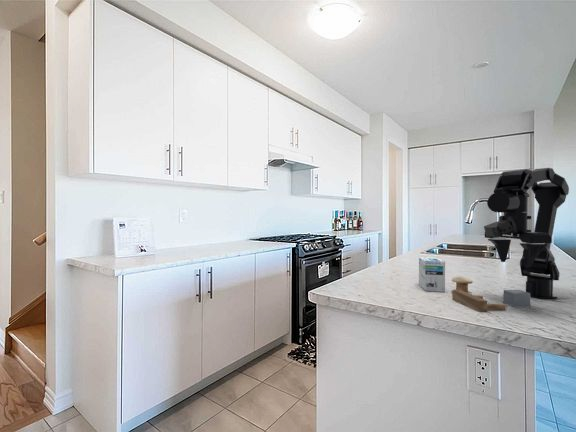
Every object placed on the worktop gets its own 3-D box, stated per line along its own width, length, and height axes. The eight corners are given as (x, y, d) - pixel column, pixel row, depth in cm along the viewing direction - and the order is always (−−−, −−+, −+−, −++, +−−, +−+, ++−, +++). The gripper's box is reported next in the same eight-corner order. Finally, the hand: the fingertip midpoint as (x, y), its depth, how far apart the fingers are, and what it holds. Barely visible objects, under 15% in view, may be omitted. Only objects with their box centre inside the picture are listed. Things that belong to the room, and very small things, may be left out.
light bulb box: (445, 292, 104) (445, 261, 104) (424, 291, 106) (424, 260, 106) (436, 285, 115) (437, 256, 115) (417, 284, 116) (418, 256, 116)
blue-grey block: (518, 302, 93) (519, 289, 93) (530, 306, 89) (530, 293, 89) (503, 303, 93) (503, 289, 93) (514, 307, 89) (514, 293, 89)
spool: (464, 291, 106) (464, 277, 105) (476, 296, 100) (476, 281, 100) (448, 291, 105) (448, 277, 105) (459, 296, 99) (459, 281, 99)
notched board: (477, 299, 96) (477, 289, 96) (507, 311, 84) (507, 300, 84) (452, 299, 96) (452, 290, 96) (478, 311, 84) (479, 301, 84)
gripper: (469, 212, 100) (468, 259, 100) (514, 212, 81) (513, 270, 82) (501, 212, 100) (501, 259, 101) (554, 212, 82) (553, 270, 82)
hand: (514, 264), depth 91 cm, fingers open, 9 cm apart
